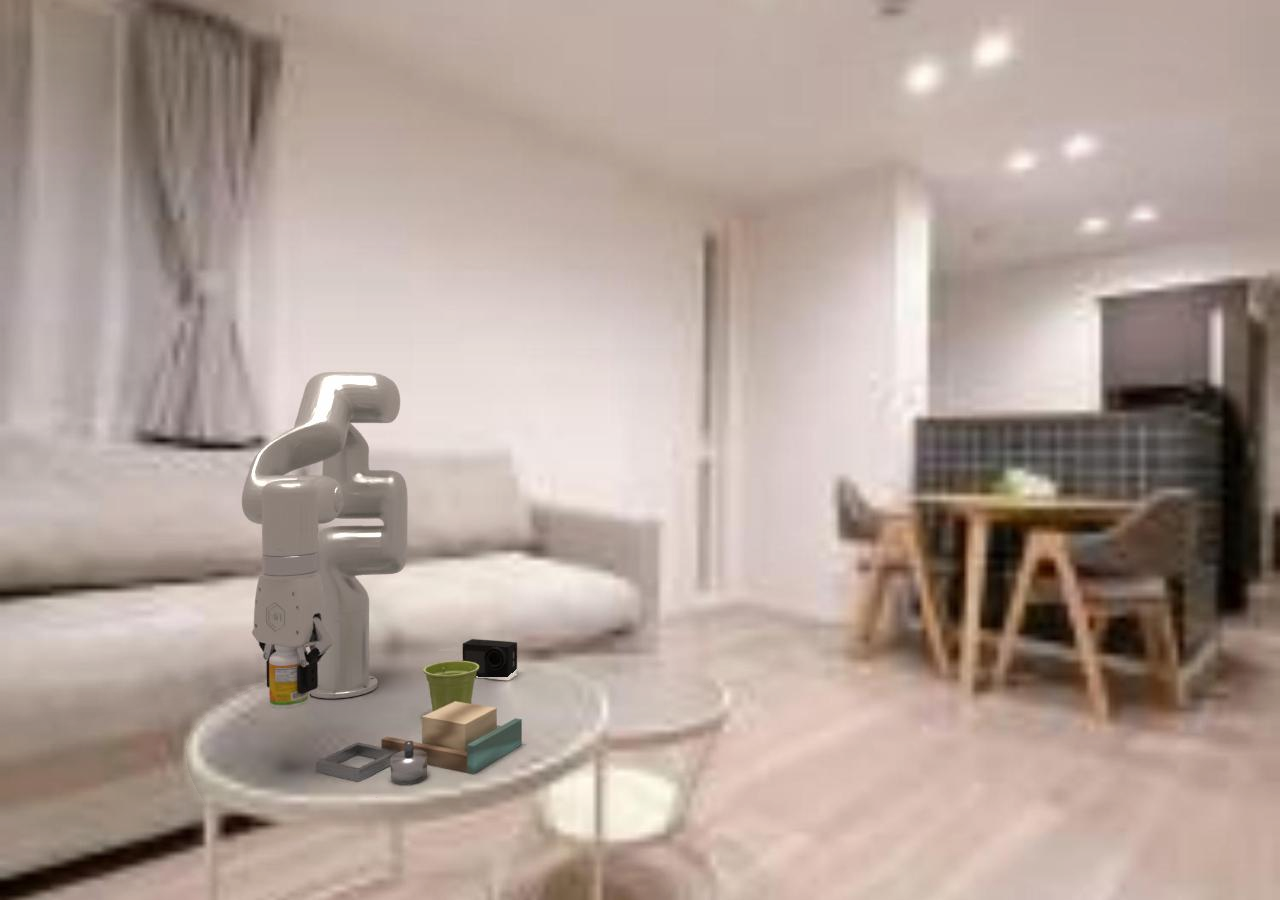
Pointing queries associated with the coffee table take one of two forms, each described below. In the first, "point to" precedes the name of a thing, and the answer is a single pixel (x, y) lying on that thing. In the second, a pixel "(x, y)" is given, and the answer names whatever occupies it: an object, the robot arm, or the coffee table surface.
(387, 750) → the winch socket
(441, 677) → the plant pot
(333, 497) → the robot arm
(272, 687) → the supplement bottle
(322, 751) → the coffee table surface
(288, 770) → the coffee table surface
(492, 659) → the digital camera
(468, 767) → the bay
